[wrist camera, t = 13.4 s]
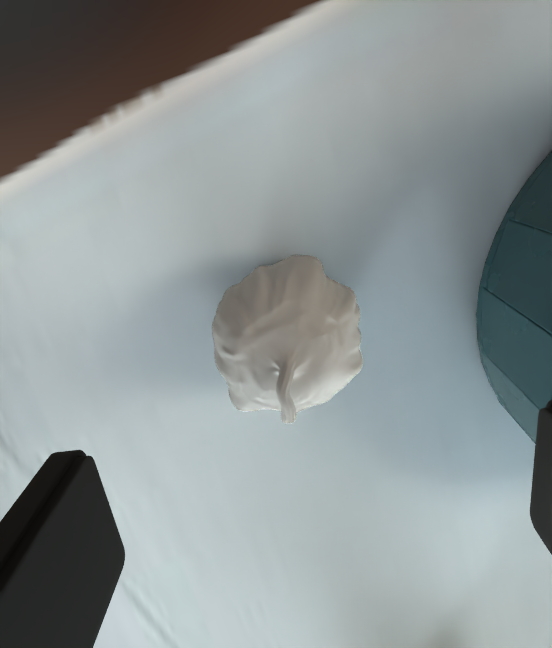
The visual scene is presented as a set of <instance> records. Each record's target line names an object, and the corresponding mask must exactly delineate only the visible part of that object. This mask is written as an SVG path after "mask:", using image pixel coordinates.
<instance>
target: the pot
mask: <svg viewBox="0 0 552 648" xmlns="http://www.w3.org/2000/svg"><path fill="white" fill-rule="evenodd" d="M476 317H477V340H478V345H479V350H480V355H481V361H482V364H483V367H484V369H485V372H486V375H487V378H488V380H489V383H490V385H491V386H492V388H493V390H494V392H495V393H496V395H497V398H498V400H499V402H500V403H501V405H502V406H503V407H504V408H505V409H506V410H507V412H508V413H509V414H510V415H511V416H512V417H513V419H514V420H515V421H516V422H517V423H518V424H519V425H520V427H521V428H522V429H523V430H524V431H525V432H526V434H527V435H528V436H529V437H530V438H531V439H532V441H533V442H534V443H535V444H536V434H537V423H538V414H539V411H540V409H541V408H546V405H547V403H548V401H550V400H552V151H551V152H550V154H549V155H548V156H547V157H546V158H545V160H544V161H543V162H542V163H541V164H540V166H539V167H538V168H537V169H536V170H535V172H534V173H533V174H532V175H531V176H530V178H529V179H528V180H527V182H526V183H525V185H524V186H523V188H522V189H521V191H520V192H519V194H518V195H517V197H516V198H515V200H514V201H513V203H512V205H511V206H510V208H509V210H508V212H507V214H506V216H505V218H504V220H503V221H502V223H501V225H500V227H499V229H498V231H497V233H496V235H495V238H494V241H493V243H492V246H491V249H490V251H489V254H488V257H487V259H486V262H485V266H484V270H483V275H482V279H481V283H480V287H479V294H478V304H477V314H476Z"/></svg>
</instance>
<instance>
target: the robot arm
mask: <svg viewBox="0 0 552 648" xmlns="http://www.w3.org/2000/svg"><path fill="white" fill-rule="evenodd" d="M530 516H531V520H532V523H533V526H534V528H535V530H536V532H537V533H538V535H539V536H540V538H541V539H542V541H543V542H544V544H545V545H546V547H547V548H548V550H549V551H550V553H551V554H552V400H550V401H548V403H547V405H546V408H541V409H540V411H539V414H538V423H537V434H536V446H535V457H534V469H533V481H532V492H531V504H530ZM124 560H125V550H124V546H123V543H122V541H121V538H120V535H119V532H118V529H117V526H116V523H115V520H114V517H113V514H112V511H111V508H110V505H109V502H108V499H107V497H106V494H105V491H104V488H103V485H102V482H101V479H100V476H99V473H98V470H97V467H96V464H95V461H94V459H93V458H92V457H91V456H86V454H85V453H84V452H83V451H82V450H74V451H65V452H56V453H53V454H51V455H50V456H49V458H48V459H47V460H46V462H45V463H44V464H43V466H42V467H41V468H40V470H39V471H38V472H37V474H36V475H35V476H34V478H33V479H32V480H31V482H30V483H29V484H28V486H27V487H26V488H25V490H24V491H23V492H22V494H21V495H20V496H19V498H18V499H17V500H16V502H15V503H14V504H13V506H12V507H11V508H10V510H9V511H8V512H7V514H6V515H5V516H4V518H3V519H2V520H1V522H0V648H93V646H94V643H95V640H96V638H97V635H98V632H99V630H100V627H101V624H102V622H103V619H104V617H105V614H106V611H107V609H108V606H109V603H110V601H111V598H112V595H113V593H114V590H115V587H116V585H117V582H118V579H119V577H120V574H121V571H122V569H123V566H124Z"/></svg>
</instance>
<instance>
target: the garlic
mask: <svg viewBox="0 0 552 648" xmlns="http://www.w3.org/2000/svg"><path fill="white" fill-rule="evenodd" d="M359 320H360V309H359V306H358V304H357V302H356V296H355V294H354V292H353V290H352V289H351V288H349V287H347V286H345V285H342V284H340V283H338V282H337V281H335V280H332V279H330V278H328V277H327V276H326V275H325V274H324V270H323V266H322V263H321V262H320V260H319V259H317V258H316V257H313V256H308V255H292V256H290V257H288V258H286V259H284V260H281V261H279V262H277V263H276V264H274V265H270V266H265V265H263V266H258V267H257V268H255V269H254V270H253V272H252V273H250V274H249V275H248V276H246V277H245V278H244V279H243V280H242V281H241V282H240V283H239V284H236V285H233V286H231V287H230V288H228V289H227V291H226V292H225V293H224V295H223V298H222V300H221V301H220V303H219V305H218V308H217V311H216V315H215V318H214V320H213V324H212V331H213V339H214V345H215V363H216V366H217V368H218V370H219V372H220V374H221V375H222V377H223V378H224V379H225V380H226V382H227V385H228V387H229V395H230V399H231V402H232V404H233V405H234V407H235V408H237V409H238V410H240V411H245V412H250V411H258V410H261V409H268V410H278V411H280V412H281V420H282V421H283V422H284V423H286V424H291V423H294V421H295V420H296V418H297V414H296V413H298V412H299V411H302V410H304V409H306V408H308V407H311V406H315V405H319V404H322V403H325V402H327V401H329V400H330V399H331V398H332V397H333V396H334V395H335V394H336V393H337V392H338V391H340V390H342V389H343V388H344V387H345V386H346V385H347V384H348V383H349V382H350V381H351V380H352V379H353V377H354V376H355V375H357V374H358V373H359V372H360V370H361V369H362V366H363V358H362V354H361V352H360V349H359V346H360V343H361V333H360V330H359V328H358V324H359Z"/></svg>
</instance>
